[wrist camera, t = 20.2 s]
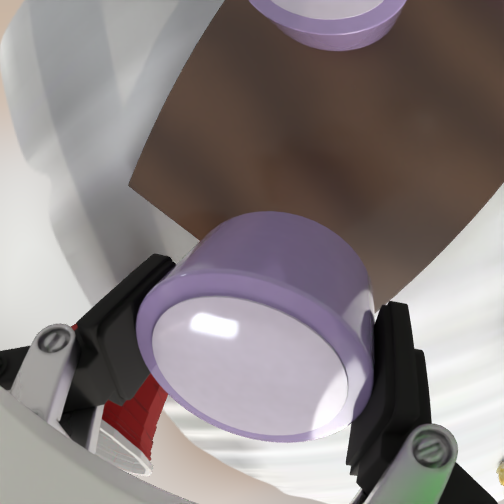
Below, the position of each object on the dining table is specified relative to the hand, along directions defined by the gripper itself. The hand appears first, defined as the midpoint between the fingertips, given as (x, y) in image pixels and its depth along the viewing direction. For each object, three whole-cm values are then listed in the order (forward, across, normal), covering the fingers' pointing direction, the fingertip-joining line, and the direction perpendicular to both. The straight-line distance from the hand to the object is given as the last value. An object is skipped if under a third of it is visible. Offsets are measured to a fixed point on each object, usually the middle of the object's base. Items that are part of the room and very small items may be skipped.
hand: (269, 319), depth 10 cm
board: (+8, -4, -10) cm, 13 cm away
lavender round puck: (+1, 0, 0) cm, 1 cm away
